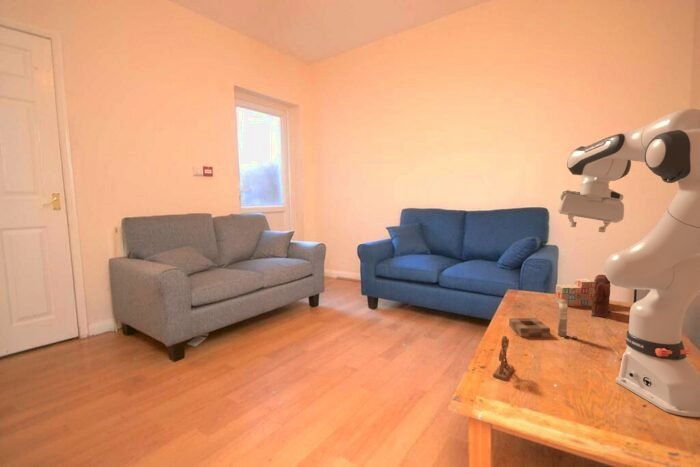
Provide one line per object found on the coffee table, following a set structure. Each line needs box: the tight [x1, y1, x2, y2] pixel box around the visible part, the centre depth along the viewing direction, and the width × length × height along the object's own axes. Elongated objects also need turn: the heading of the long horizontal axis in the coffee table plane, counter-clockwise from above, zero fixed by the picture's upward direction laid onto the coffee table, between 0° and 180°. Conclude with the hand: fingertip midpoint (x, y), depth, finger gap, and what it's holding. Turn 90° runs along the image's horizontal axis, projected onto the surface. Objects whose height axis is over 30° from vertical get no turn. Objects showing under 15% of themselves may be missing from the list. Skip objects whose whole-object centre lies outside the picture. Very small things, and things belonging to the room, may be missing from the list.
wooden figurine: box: [591, 274, 611, 318], centre depth 152 cm, size 12×6×18 cm, turn 143°
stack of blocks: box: [554, 278, 595, 307], centre depth 166 cm, size 21×6×12 cm, turn 85°
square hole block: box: [508, 317, 551, 338], centre depth 135 cm, size 11×11×4 cm
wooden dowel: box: [557, 300, 569, 338], centre depth 130 cm, size 3×3×14 cm
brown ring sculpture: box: [492, 335, 515, 382], centre depth 104 cm, size 9×4×12 cm, turn 140°
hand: (587, 229), depth 123 cm, fingers open, 8 cm apart
